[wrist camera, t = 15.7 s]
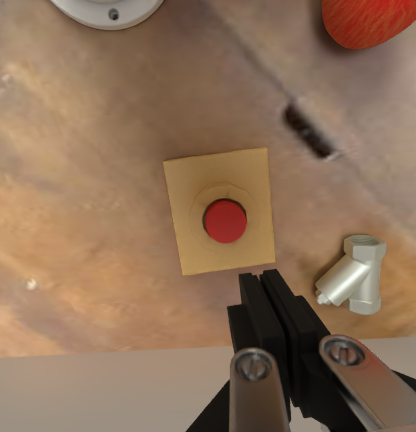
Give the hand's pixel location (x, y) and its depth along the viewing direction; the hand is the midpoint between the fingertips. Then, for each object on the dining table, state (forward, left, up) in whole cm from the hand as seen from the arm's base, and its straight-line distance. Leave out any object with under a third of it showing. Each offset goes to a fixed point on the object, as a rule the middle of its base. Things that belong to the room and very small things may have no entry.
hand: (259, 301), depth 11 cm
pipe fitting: (+9, +13, -17) cm, 23 cm away
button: (0, 0, -13) cm, 13 cm away
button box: (0, 0, -17) cm, 17 cm away
